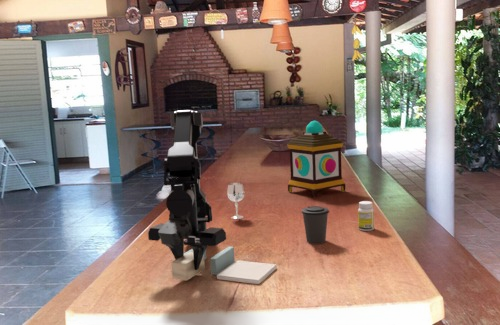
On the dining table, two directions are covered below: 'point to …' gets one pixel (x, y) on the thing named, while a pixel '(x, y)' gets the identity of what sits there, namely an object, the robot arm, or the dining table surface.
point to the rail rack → (220, 259)
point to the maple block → (186, 267)
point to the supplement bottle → (365, 216)
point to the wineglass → (236, 196)
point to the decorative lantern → (315, 160)
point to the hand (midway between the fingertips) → (188, 268)
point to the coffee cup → (315, 224)
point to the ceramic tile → (247, 272)
